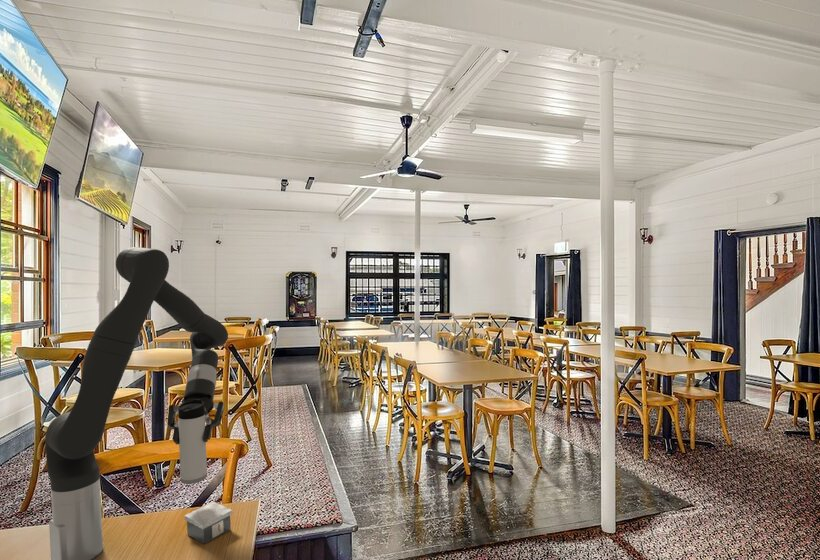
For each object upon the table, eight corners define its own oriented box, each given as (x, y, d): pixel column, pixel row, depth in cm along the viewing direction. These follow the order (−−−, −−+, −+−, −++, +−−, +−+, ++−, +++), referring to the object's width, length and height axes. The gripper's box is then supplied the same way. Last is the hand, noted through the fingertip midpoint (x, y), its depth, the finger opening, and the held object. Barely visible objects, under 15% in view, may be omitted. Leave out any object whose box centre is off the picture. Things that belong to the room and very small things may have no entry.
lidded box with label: (203, 545, 110) (202, 525, 110) (185, 535, 115) (184, 515, 115) (232, 529, 117) (232, 510, 117) (214, 520, 122) (213, 501, 121)
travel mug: (212, 473, 123) (209, 399, 122) (198, 485, 117) (196, 406, 116) (189, 472, 124) (187, 398, 123) (175, 484, 117) (172, 406, 116)
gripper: (170, 379, 125) (156, 438, 114) (226, 375, 128) (218, 433, 117) (176, 393, 131) (164, 450, 119) (230, 389, 133) (223, 445, 122)
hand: (191, 441), depth 118 cm, fingers closed on travel mug, 6 cm apart
